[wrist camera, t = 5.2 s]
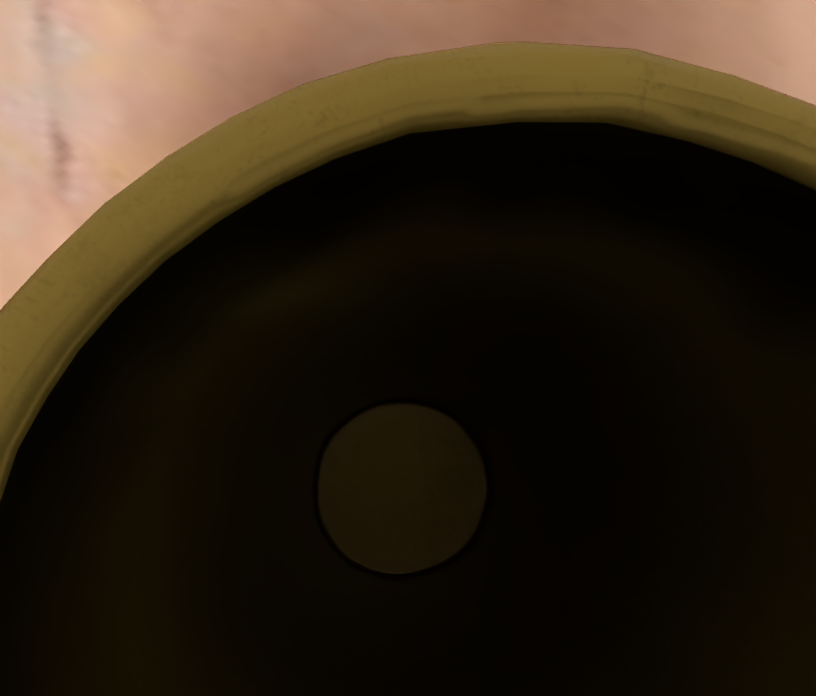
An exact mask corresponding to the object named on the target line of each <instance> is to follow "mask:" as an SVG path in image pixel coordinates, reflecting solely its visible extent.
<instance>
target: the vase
mask: <svg viewBox="0 0 816 696" xmlns="http://www.w3.org/2000/svg"><path fill="white" fill-rule="evenodd" d="M0 696H816V106H815V105H813V104H811V103H808V102H805V101H802V100H800V99H797V98H794V97H791V96H789V95H786V94H783V93H780V92H778V91H775V90H772V89H769V88H767V87H764V86H761V85H758V84H756V83H753V82H750V81H747V80H745V79H742V78H739V77H736V76H733V75H730V74H726V73H722V72H718V71H714V70H711V69H707V68H703V67H699V66H696V65H692V64H688V63H684V62H681V61H677V60H673V59H670V58H666V57H662V56H658V55H655V54H651V53H647V52H644V51H640V50H636V49H625V48H610V47H595V46H580V45H565V44H551V43H536V42H498V43H491V44H484V45H477V46H470V47H463V48H457V49H450V50H443V51H436V52H429V53H423V54H416V55H409V56H402V57H395V58H388V59H385V60H382V61H378V62H375V63H372V64H368V65H365V66H362V67H358V68H355V69H352V70H348V71H345V72H342V73H338V74H335V75H332V76H328V77H325V78H322V79H318V80H315V81H312V82H309V83H305V84H302V85H300V86H298V87H296V88H294V89H292V90H290V91H287V92H285V93H283V94H281V95H279V96H277V97H274V98H272V99H270V100H268V101H266V102H264V103H261V104H259V105H257V106H255V107H253V108H251V109H249V110H246V111H244V112H242V113H240V114H238V115H236V116H233V117H231V118H229V119H228V120H226V121H225V122H223V123H221V124H220V125H218V126H216V127H215V128H213V129H211V130H210V131H208V132H206V133H205V134H203V135H201V136H200V137H198V138H197V139H195V140H193V141H192V142H190V143H188V144H187V145H185V146H183V147H182V148H180V149H178V150H177V151H175V152H173V153H172V154H170V155H169V156H167V157H166V158H164V159H163V160H162V161H160V162H159V163H158V164H156V165H155V166H154V167H153V168H151V169H150V170H149V171H147V172H146V173H145V174H143V175H142V176H141V177H139V178H138V179H137V180H136V181H134V182H133V183H132V184H130V185H129V186H128V187H126V188H125V189H124V190H122V191H121V192H119V193H118V194H117V195H115V196H114V197H113V198H111V199H110V200H108V201H107V202H106V203H105V204H103V205H102V206H101V207H100V208H99V209H98V210H97V211H96V212H95V213H94V214H93V215H92V216H91V217H90V218H89V219H88V220H87V221H86V222H85V223H84V224H83V225H82V226H81V227H80V228H79V229H78V230H76V231H75V232H74V233H73V234H72V235H71V236H70V237H69V238H68V239H67V240H66V241H65V242H64V243H63V244H62V245H61V246H60V247H59V248H58V249H57V250H56V251H55V252H54V253H53V254H52V255H51V256H50V257H49V258H48V259H47V260H46V261H45V262H44V263H43V264H42V265H41V266H40V267H39V268H38V270H37V271H36V272H35V273H34V274H33V275H32V276H31V277H30V278H29V279H28V280H27V281H26V283H25V284H24V285H23V286H22V287H21V288H20V289H19V290H18V291H17V292H16V293H15V294H14V295H13V297H12V298H11V299H10V300H9V301H8V302H7V303H6V304H5V305H4V306H3V308H2V309H1V310H0Z"/></svg>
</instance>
